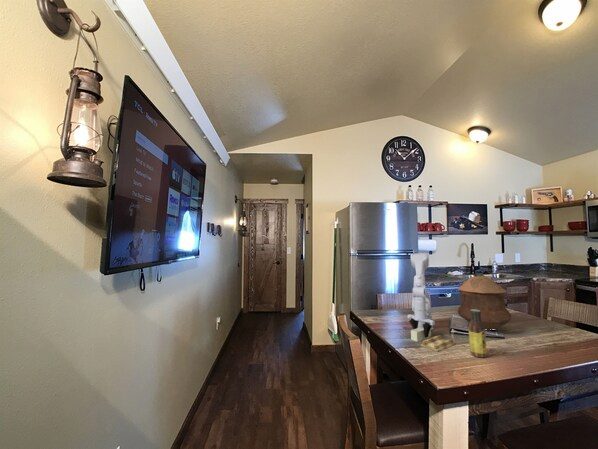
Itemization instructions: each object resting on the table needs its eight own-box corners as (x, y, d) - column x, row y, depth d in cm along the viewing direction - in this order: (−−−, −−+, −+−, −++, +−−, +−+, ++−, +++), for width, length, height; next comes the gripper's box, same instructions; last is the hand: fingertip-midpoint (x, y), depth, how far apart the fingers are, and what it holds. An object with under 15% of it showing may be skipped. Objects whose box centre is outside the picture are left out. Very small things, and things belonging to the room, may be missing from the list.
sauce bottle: (487, 359, 112) (484, 313, 113) (470, 356, 115) (467, 311, 116) (486, 353, 117) (483, 309, 119) (469, 350, 121) (467, 307, 122)
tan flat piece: (438, 339, 135) (438, 334, 135) (454, 344, 128) (454, 339, 128) (420, 345, 128) (420, 340, 128) (437, 351, 120) (437, 346, 120)
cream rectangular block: (425, 335, 142) (424, 325, 142) (431, 337, 139) (430, 327, 139) (411, 339, 136) (410, 330, 136) (417, 342, 133) (416, 332, 133)
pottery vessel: (521, 339, 133) (518, 280, 135) (464, 334, 142) (461, 279, 144) (502, 323, 157) (498, 274, 159) (454, 320, 166) (451, 273, 168)
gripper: (403, 307, 142) (404, 332, 141) (428, 313, 130) (429, 341, 129) (411, 305, 146) (412, 330, 145) (436, 311, 133) (437, 338, 133)
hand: (421, 335), depth 137 cm, fingers open, 5 cm apart
